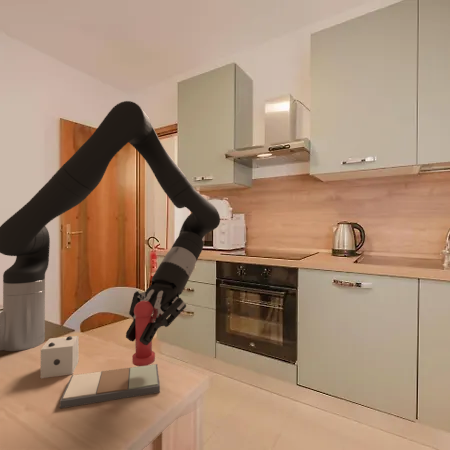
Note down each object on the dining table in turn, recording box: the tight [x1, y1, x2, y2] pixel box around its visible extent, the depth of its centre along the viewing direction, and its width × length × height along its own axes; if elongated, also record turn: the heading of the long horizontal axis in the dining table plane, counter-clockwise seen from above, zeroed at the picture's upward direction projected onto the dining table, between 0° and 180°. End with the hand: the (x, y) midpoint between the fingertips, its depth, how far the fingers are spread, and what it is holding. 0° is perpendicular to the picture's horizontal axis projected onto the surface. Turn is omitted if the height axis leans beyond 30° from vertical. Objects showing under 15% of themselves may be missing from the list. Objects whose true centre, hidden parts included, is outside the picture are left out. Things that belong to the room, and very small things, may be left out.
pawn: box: [131, 301, 156, 367], centre depth 58 cm, size 4×4×12 cm
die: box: [40, 335, 80, 379], centre depth 63 cm, size 6×7×7 cm
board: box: [59, 363, 161, 409], centre depth 56 cm, size 17×9×1 cm, turn 106°
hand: (136, 340), depth 56 cm, fingers closed on pawn, 3 cm apart
